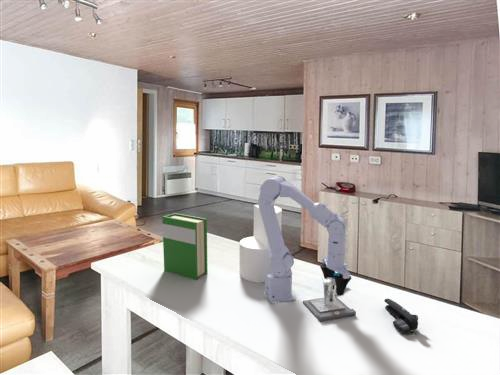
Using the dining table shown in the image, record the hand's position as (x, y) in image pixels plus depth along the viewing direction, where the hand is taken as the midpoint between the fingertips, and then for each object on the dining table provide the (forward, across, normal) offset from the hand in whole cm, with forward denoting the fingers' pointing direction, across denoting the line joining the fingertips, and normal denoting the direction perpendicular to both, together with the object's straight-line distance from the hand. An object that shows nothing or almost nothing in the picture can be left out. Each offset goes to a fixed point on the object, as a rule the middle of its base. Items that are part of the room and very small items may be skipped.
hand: (334, 290), depth 123 cm
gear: (+6, +13, -8) cm, 17 cm away
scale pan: (+5, 0, +2) cm, 6 cm away
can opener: (+7, -14, -16) cm, 22 cm away
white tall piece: (+6, +34, +16) cm, 38 cm away
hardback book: (+6, +44, +46) cm, 64 cm away
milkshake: (+5, 0, +2) cm, 5 cm away
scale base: (+6, -1, +2) cm, 7 cm away
